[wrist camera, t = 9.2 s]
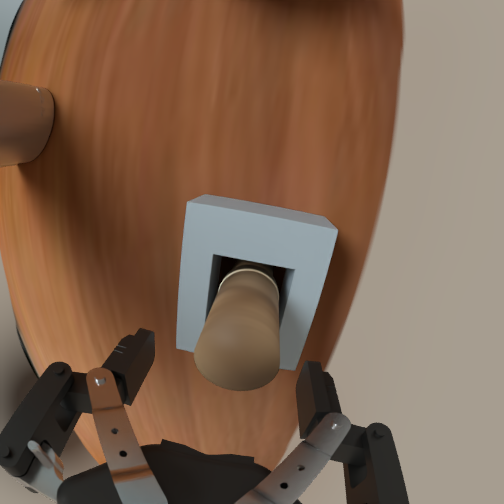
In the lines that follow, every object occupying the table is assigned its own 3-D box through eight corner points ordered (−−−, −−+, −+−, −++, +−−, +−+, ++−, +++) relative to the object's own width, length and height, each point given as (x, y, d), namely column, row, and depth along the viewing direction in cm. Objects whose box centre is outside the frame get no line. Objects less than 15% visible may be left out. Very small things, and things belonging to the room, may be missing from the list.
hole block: (292, 337, 26) (294, 370, 21) (191, 317, 26) (176, 348, 21) (324, 216, 22) (338, 230, 17) (205, 194, 22) (187, 201, 17)
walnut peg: (239, 299, 25) (215, 397, 13) (220, 257, 24) (177, 337, 12) (284, 284, 24) (292, 381, 12) (267, 240, 23) (263, 315, 11)
